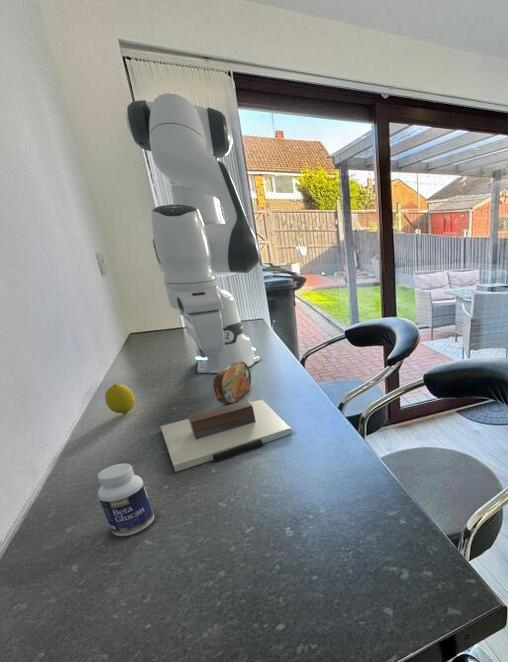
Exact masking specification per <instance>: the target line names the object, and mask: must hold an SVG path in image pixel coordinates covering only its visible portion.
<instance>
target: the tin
mask: <svg viewBox="0 0 508 662" xmlns="http://www.w3.org/2000/svg"><path fill="white" fill-rule="evenodd" d="M212 383H213V385H212V387H213V391H214V395H215V397H216V399H217V401H218V402H219V403H221V404H234V403H237V402H238V401H239V400H240V398H242V397H243V396H244V395H245V394H246V393H247V392H248V391H249V390H250V388H251V384H252V375H251V371H250V368H249V367H248V366H247V365H246V363H244V362H237V363H232V364H230V365H229V366H227V367H226V368H225V369H223V370H222V371H220V372H219V373H216V374H215V376H214V378H213V382H212Z"/></svg>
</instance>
